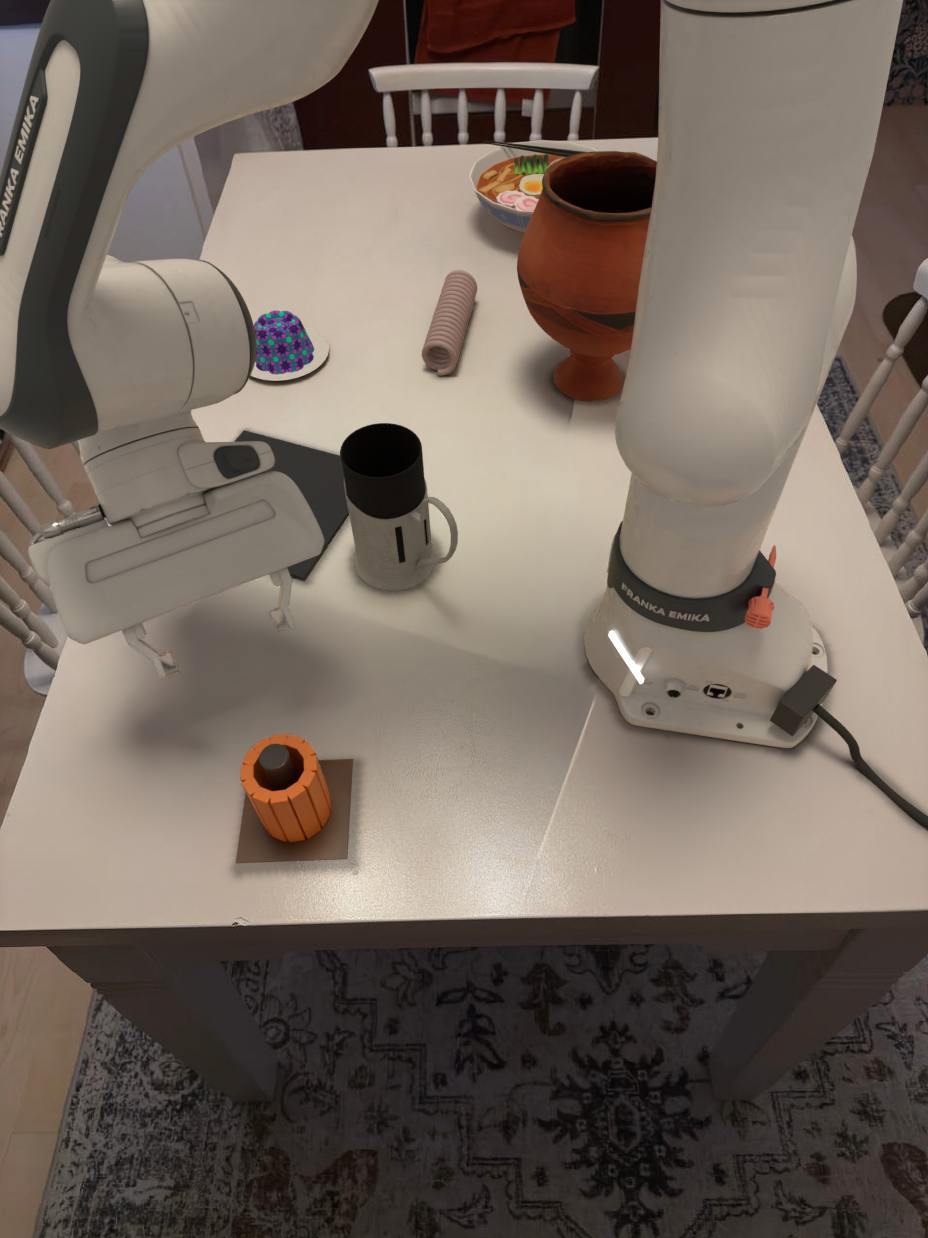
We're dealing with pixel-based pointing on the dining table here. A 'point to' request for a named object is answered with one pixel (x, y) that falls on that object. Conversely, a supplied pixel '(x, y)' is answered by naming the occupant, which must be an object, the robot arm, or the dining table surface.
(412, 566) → the glass holder
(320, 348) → the pudding
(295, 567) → the mat
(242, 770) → the orange grooved hollow cylinder
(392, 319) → the dining table surface
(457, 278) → the coil
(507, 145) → the ramen bowl
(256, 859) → the stake stand
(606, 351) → the goblet
